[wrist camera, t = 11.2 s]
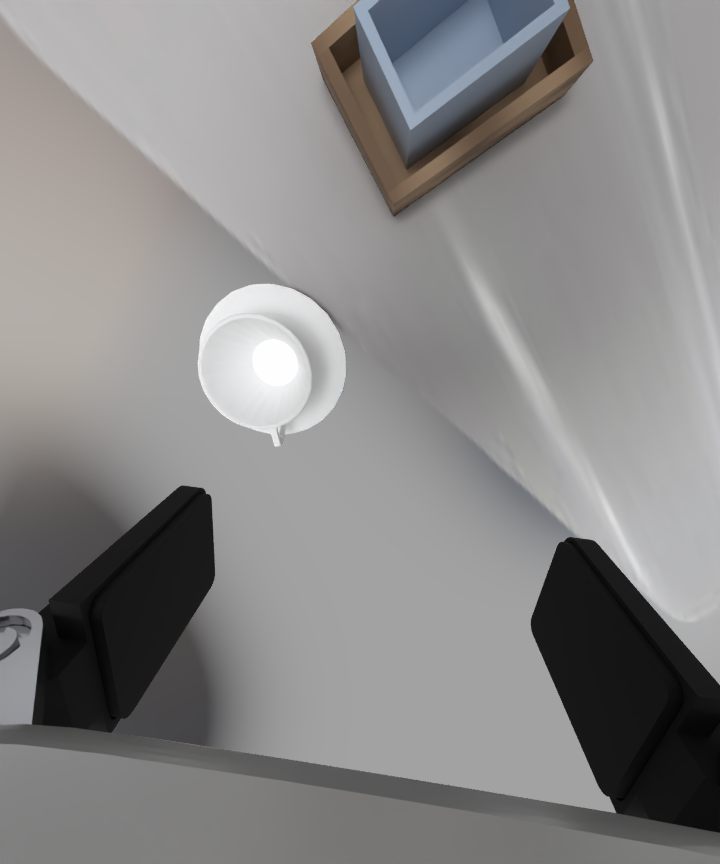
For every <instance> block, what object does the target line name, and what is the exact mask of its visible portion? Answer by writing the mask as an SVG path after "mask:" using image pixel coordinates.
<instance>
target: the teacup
mask: <svg viewBox="0 0 720 864" xmlns="http://www.w3.org/2000/svg"><path fill="white" fill-rule="evenodd" d="M198 373H199V378H200V381H201V384H202V387H203V391H204V392H205V394H206V396H207V397H208V399H209V400H210V402H211V404H212V405H213V406H214V407H215V408H216V409H217V410H218V411H219V412H220V413H221V414H222V415H223V416H225V417H226V418H228V419H229V420H231V421H233V422H234V423H236V424H239V425H241V426H244V427H247V428H251V429H253V430H255V431H260V432H265V433H268V434H271V436H272V439H273V443H274V446H275V447H276V446H281V445H282V443H283V440H284V437H285V434H293V433H297V432H301V431H304V430H307V429H309V428H311V427H312V426H314V425H316V424H317V423H319V422H321V421H322V420H323V419H324V418H325V417H326V416H327V415H328V414H329V413H330V412H331V411H332V410H333V409H334V408H335V406H336V404H337V402H338V400H339V398H340V396H341V394H342V392H343V388H344V384H345V379H346V374H347V368H346V352H345V349H344V346H343V343H342V340H341V336H340V333H339V331H338V330H337V328H336V327H335V325H334V323H333V322H332V320H331V319H330V317H329V315H328V314H327V313H326V312H325V311H324V310H323V309H322V308H321V307H320V306H319V305H318V304H317V303H316V302H314V301H313V300H312V299H311V298H309V297H307V296H306V295H304V294H302V293H300V292H298V291H297V290H295V289H293V288H289V287H285V286H281V285H276V284H272V283H271V284H251V285H249V286H246V287H243V288H241V289H238V290H235V291H233V292H231V293H230V294H229V295H227V296H226V297H225V298H223V299H222V300H221V301H220V302H218V303H217V305H216V306H215V307H214V309H213V310H212V311H211V313H210V315H209V316H208V317H207V319H206V321H205V324H204V327H203V330H202V333H201V336H200V348H199V357H198Z"/></svg>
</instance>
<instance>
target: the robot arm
mask: <svg viewBox="0 0 720 864" xmlns="http://www.w3.org/2000/svg"><path fill="white" fill-rule="evenodd" d="M214 577H215V563H214V543H213V521H212V501H211V496H210V495H209V494H206V492H205V490H204V489H203V488H197V487H189V486H180V487H179V488H177V489H176V490H175V491H174V492H173V493H171V494H170V495H169V496H168V497H167V498H166V499H165V500H163V501H162V502H161V503H160V504H159V505H158V506H157V507H155V508H154V509H153V510H152V511H151V512H150V513H148V514H147V515H146V516H145V517H144V518H143V519H142V520H140V521H139V522H138V523H137V524H136V525H135V526H134V527H132V528H131V529H130V530H129V531H128V532H127V533H125V534H124V535H123V536H122V537H121V538H120V539H118V540H117V541H116V542H115V543H114V544H113V545H112V546H110V547H109V548H108V549H107V550H106V551H105V552H104V553H102V554H101V555H100V556H99V557H98V558H97V559H96V560H94V561H93V562H92V563H91V564H90V565H89V566H87V567H86V568H85V569H84V570H83V571H82V572H81V573H79V574H78V575H77V576H76V577H75V578H74V579H73V580H71V581H70V582H69V583H68V584H67V585H66V586H65V587H63V588H62V589H61V590H60V591H59V592H58V593H56V594H55V595H54V596H53V597H52V598H51V599H49V604H48V605H47V606H46V607H45V608H44V609H43V610H42V611H40V612H39V613H37V612H36V611H32V610H28V609H9V610H5V611H0V864H720V685H719V684H718V683H717V681H716V680H715V679H714V678H713V677H712V676H711V675H710V673H709V672H708V671H707V670H706V669H705V668H704V666H703V665H702V664H701V663H700V662H699V661H698V660H697V658H696V657H695V656H694V655H693V654H692V653H691V651H690V650H689V649H688V648H687V647H686V646H685V645H684V643H683V642H682V641H681V640H680V639H679V638H678V636H677V635H676V634H675V633H674V632H673V631H672V630H671V628H670V627H669V626H668V625H667V624H666V623H665V621H664V620H663V619H662V618H661V617H660V616H659V615H658V613H657V612H656V611H655V610H654V609H653V607H652V606H651V605H650V604H649V603H648V602H647V601H646V599H645V598H644V597H643V596H642V595H641V594H640V592H639V591H638V590H637V589H636V588H635V587H634V585H633V584H632V583H631V582H630V581H629V580H628V579H627V577H626V576H625V575H624V574H623V573H622V572H621V570H620V569H619V568H618V567H617V566H616V565H615V563H614V562H613V561H612V560H611V559H610V558H609V557H608V555H607V554H606V553H605V552H604V551H603V550H602V548H601V547H600V546H599V545H598V544H597V543H596V542H595V541H593V540H588V539H580V538H572V537H569V538H567V539H566V540H565V541H564V542H560V543H559V544H558V546H557V548H556V551H555V554H554V557H553V560H552V563H551V565H550V568H549V571H548V573H547V576H546V579H545V582H544V585H543V587H542V590H541V593H540V596H539V598H538V601H537V604H536V607H535V610H534V612H533V615H532V618H531V629H532V633H533V636H534V638H535V640H536V643H537V645H538V647H539V650H540V652H541V654H542V657H543V659H544V661H545V664H546V666H547V668H548V670H549V673H550V675H551V677H552V680H553V682H554V684H555V687H556V689H557V691H558V694H559V696H560V698H561V701H562V703H563V705H564V708H565V710H566V712H567V714H568V717H569V719H570V721H571V724H572V726H573V728H574V731H575V733H576V735H577V738H578V740H579V742H580V744H581V747H582V749H583V752H584V754H585V756H586V758H587V761H588V763H589V765H590V768H591V770H592V772H593V774H594V777H595V779H596V782H597V784H598V786H599V788H600V789H601V791H602V792H603V793H604V794H605V795H606V796H609V797H610V799H611V801H612V804H613V806H614V808H615V811H616V813H611V812H605V811H599V810H592V809H587V808H581V807H575V806H569V805H564V804H558V803H551V802H545V801H539V800H534V799H528V798H522V797H516V796H510V795H504V794H497V793H492V792H486V791H480V790H474V789H468V788H462V787H456V786H450V785H443V784H438V783H431V782H425V781H419V780H413V779H407V778H401V777H395V776H388V775H382V774H376V773H370V772H364V771H358V770H351V769H345V768H339V767H332V766H326V765H320V764H314V763H308V762H302V761H295V760H289V759H282V758H276V757H269V756H263V755H256V754H250V753H243V752H238V751H231V750H224V749H218V748H212V747H205V746H199V745H192V744H186V743H180V742H173V741H167V740H160V739H153V738H146V737H138V736H131V735H123V734H116V733H112V731H113V730H114V728H115V727H116V725H117V723H118V722H119V720H120V719H121V718H123V719H125V718H127V717H128V716H129V715H130V714H131V713H132V711H133V710H134V708H135V707H136V705H137V704H138V702H139V701H140V699H141V697H142V696H143V694H144V692H145V691H146V689H147V688H148V686H149V685H150V683H151V682H152V680H153V678H154V677H155V675H156V673H157V672H158V671H159V669H160V667H161V666H162V664H163V663H164V661H165V659H166V658H167V656H168V654H169V653H170V651H171V650H172V648H173V647H174V645H175V644H176V642H177V640H178V639H179V637H180V636H181V634H182V632H183V631H184V629H185V627H186V626H187V625H188V623H189V621H190V620H191V618H192V617H193V615H194V613H195V612H196V610H197V609H198V607H199V606H200V604H201V602H202V601H203V599H204V597H205V596H206V594H207V593H208V591H209V590H210V588H211V586H212V584H213V581H214Z"/></svg>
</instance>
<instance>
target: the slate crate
mask: <svg viewBox="0 0 720 864" xmlns="http://www.w3.org/2000/svg"><path fill="white" fill-rule="evenodd" d="M569 9H570V6H569V3H568V0H360V1H359V2H358V3H357V4H356V5H354V6H353V10H354V17H355V24H356V31H357V38H358V45H359V52H360V59H361V66H362V73H363V80H364V82H365V84H366V86H367V88H368V90H369V92H370V95H371V97H372V99H373V101H374V103H375V105H376V107H377V109H378V111H379V113H380V115H381V117H382V120H383V122H384V124H385V126H386V128H387V130H388V132H389V134H390V136H391V138H392V140H393V142H394V145H395V147H396V149H397V151H398V153H399V155H400V157H401V159H402V161H403V163H404V165H405V167H406V170H407V169H408V168H409V167H411V166H412V165H414V164H415V163H416V162H418V161H419V160H420V159H422V158H423V157H424V156H426V155H427V154H429V153H430V152H431V151H433V150H434V149H435V148H437V147H438V146H439V145H441V144H442V143H443V142H445V141H446V140H448V139H449V138H450V137H452V136H453V135H454V134H456V133H457V132H458V131H460V130H461V129H463V128H464V127H465V126H467V125H468V124H469V123H471V122H472V121H473V120H475V119H476V118H478V117H479V116H480V115H482V114H483V113H484V112H486V111H487V110H488V109H490V108H491V107H493V106H494V105H495V104H497V103H498V102H499V101H501V100H502V99H503V98H505V97H506V96H507V95H509V94H510V93H512V92H513V91H514V90H516V89H517V88H518V87H520V86H521V85H522V84H524V83H525V81H526V79H527V78H528V76H529V75H530V73H531V71H532V70H533V68H534V66H535V65H536V63H537V61H538V60H539V58H540V57H541V55H542V53H543V52H544V50H545V48H546V47H547V45H548V43H549V42H550V40H551V39H552V37H553V35H554V34H555V32H556V30H557V29H558V27H559V25H560V24H561V22H562V21H563V19H564V17H565V16H566V14H567V12H568V11H569Z"/></svg>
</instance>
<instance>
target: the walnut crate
mask: <svg viewBox="0 0 720 864" xmlns="http://www.w3.org/2000/svg"><path fill="white" fill-rule="evenodd" d="M359 1H360V0H357V1H356V2H355V3H354V4H353V5H352V6H351V7H350V8H349V9H348V10H347V11H345V12H344V13H343V14H342V15H341V16H340V17H339V18H338V19H337V20H336V21H335V22H334V23H332V24H331V25H330V26H329V27H328V28H327V29H326V30H325V31H324V32H323V33H322V34H320V35H319V36H318V37H317V38H316V39H315V40H314V41H313V42H312V43H311V44H312V47H313V50H314V53H315V56H316V59H317V62H318V65H319V68H320V71H321V74H322V77H323V80H324V82H325V84H326V86H327V88H328V90H329V92H330V94H331V96H332V98H333V100H334V102H335V104H336V105H337V107H338V109H339V111H340V113H341V115H342V117H343V119H344V121H345V123H346V125H347V127H348V129H349V131H350V133H351V135H352V137H353V139H354V141H355V143H356V145H357V146H358V148H359V150H360V152H361V154H362V156H363V158H364V160H365V162H366V164H367V166H368V168H369V170H370V172H371V174H372V176H373V178H374V180H375V182H376V184H377V185H378V187H379V189H380V191H381V193H382V195H383V197H384V199H385V201H386V203H387V205H388V207H389V209H390V211H391V213H392V215H393V216H395V215H396V214H398V213H399V212H401V211H402V210H403V209H405V208H406V207H408V206H409V205H410V204H412V203H413V202H415V201H416V200H417V199H419V198H420V197H422V196H423V195H424V194H426V193H427V192H429V191H430V190H432V189H433V188H434V187H436V186H437V185H439V184H440V183H441V182H443V181H444V180H446V179H447V178H448V177H450V176H451V175H453V174H454V173H455V172H457V171H458V170H460V169H461V168H463V167H464V166H465V165H467V164H468V163H470V162H471V161H472V160H474V159H475V158H477V157H478V156H479V155H481V154H482V153H484V152H485V151H486V150H488V149H489V148H491V147H492V146H494V145H495V144H496V143H498V142H499V141H501V140H502V139H503V138H505V137H506V136H508V135H509V134H510V133H512V132H513V131H515V130H516V129H517V128H519V127H520V126H522V125H523V124H525V123H526V122H527V121H529V120H530V119H532V118H533V117H534V116H536V115H537V114H539V113H540V112H541V111H543V110H544V109H546V108H547V107H548V106H550V105H551V104H553V103H554V102H556V101H557V100H558V99H560V98H561V97H563V96H564V95H565V94H566V92H567V91H568V90H569V89H570V88H571V86H572V85H573V84H574V83H575V82H576V81H577V79H578V78H579V77H580V76H581V75H582V73H583V72H584V71H585V70H586V69H587V68H588V66H589V65H590V64H591V63H592V62H593V59H592V56H591V53H590V50H589V46H588V43H587V40H586V37H585V34H584V31H583V28H582V25H581V22H580V19H579V15H578V12H577V9H576V6H575V3H574V0H568V3H569V6H570V9H569V11H568V12H567V14H566V16H565V17H564V19H563V21H562V22H561V24H560V25H559V27H558V29H557V30H556V32H555V34H554V35H553V37H552V39H551V40H550V42H549V43H548V45H547V47H546V48H545V50H544V52H543V53H542V55H541V57H540V58H539V60H538V61H537V63H536V65H535V66H534V68H533V70H532V71H531V73H530V75H529V76H528V78H527V79H526V81H525V83H524V84H522V85H521V86H520V87H518V88H517V89H516V90H514V91H513V92H512V93H510V94H509V95H507V96H506V97H505V98H503V99H502V100H501V101H499V102H498V103H497V104H495V105H494V106H493V107H491V108H490V109H488V110H487V111H486V112H484V113H483V114H482V115H480V116H479V117H478V118H476V119H475V120H473V121H472V122H471V123H469V124H468V125H467V126H465V127H464V128H463V129H461V130H460V131H458V132H457V133H456V134H454V135H453V136H452V137H450V138H449V139H448V140H446V141H445V142H443V143H442V144H441V145H439V146H438V147H437V148H435V149H434V150H433V151H431V152H430V153H429V154H427V155H426V156H424V157H423V158H422V159H420V160H419V161H418V162H416V163H415V164H414V165H412V166H411V167H409V168H408V169H407V170H406V167H405V165H404V163H403V161H402V159H401V157H400V155H399V153H398V151H397V149H396V147H395V145H394V142H393V140H392V138H391V136H390V134H389V132H388V130H387V128H386V126H385V124H384V122H383V120H382V117H381V115H380V113H379V111H378V109H377V107H376V105H375V103H374V101H373V99H372V97H371V95H370V92H369V90H368V88H367V86H366V84H365V82H364V80H363V73H362V66H361V59H360V52H359V45H358V38H357V31H356V24H355V17H354V10H353V6H354V5H356V4H357V3H358V2H359Z"/></svg>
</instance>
